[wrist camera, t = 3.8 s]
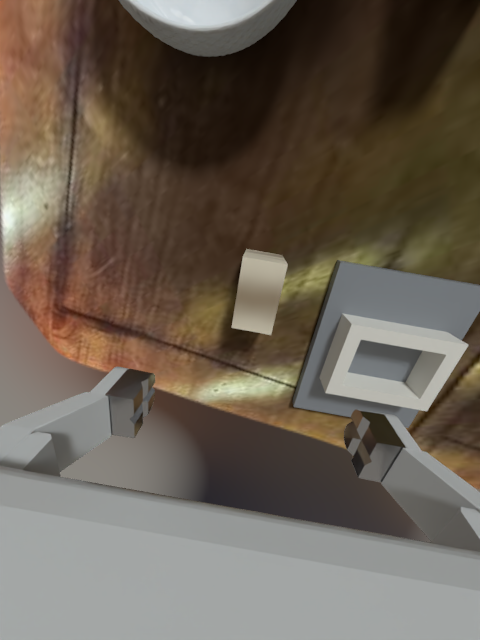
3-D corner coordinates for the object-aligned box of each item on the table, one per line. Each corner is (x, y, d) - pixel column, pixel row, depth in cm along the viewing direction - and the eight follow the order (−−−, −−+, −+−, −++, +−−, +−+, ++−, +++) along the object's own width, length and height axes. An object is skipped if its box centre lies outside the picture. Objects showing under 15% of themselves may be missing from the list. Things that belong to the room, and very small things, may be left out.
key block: (246, 248, 26) (242, 256, 21) (282, 255, 26) (287, 264, 21) (236, 307, 29) (231, 327, 23) (269, 312, 29) (271, 334, 23)
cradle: (337, 260, 26) (350, 267, 22) (483, 285, 26) (522, 297, 22) (292, 400, 34) (296, 424, 30) (403, 420, 34) (422, 446, 30)
